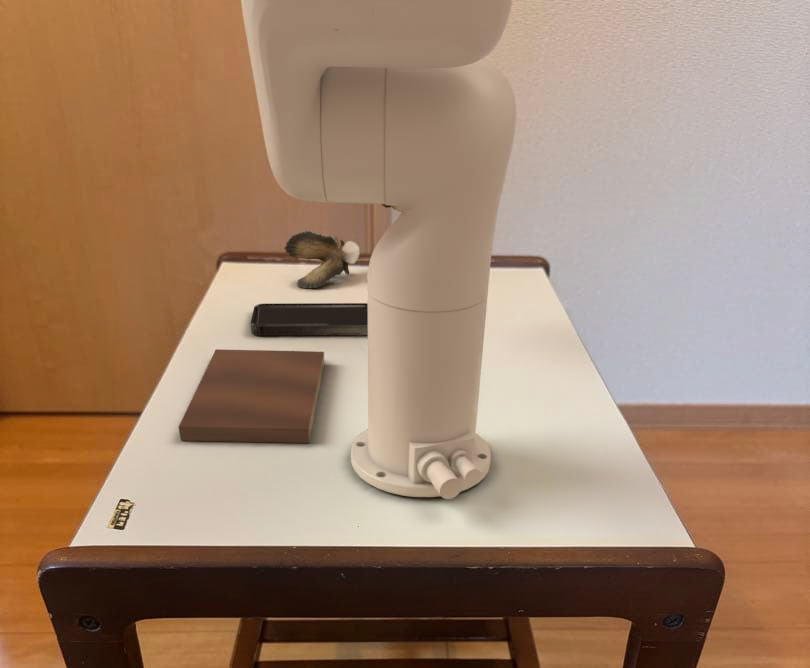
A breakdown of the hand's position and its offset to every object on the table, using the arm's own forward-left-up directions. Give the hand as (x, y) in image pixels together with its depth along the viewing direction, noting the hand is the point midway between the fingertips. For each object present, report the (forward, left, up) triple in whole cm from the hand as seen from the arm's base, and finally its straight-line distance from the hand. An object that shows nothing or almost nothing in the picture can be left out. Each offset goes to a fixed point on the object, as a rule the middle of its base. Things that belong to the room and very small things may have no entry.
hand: (422, 201), depth 86 cm
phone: (+8, +11, -16) cm, 20 cm away
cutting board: (-10, +22, -15) cm, 28 cm away
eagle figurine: (+24, +5, -16) cm, 29 cm away
